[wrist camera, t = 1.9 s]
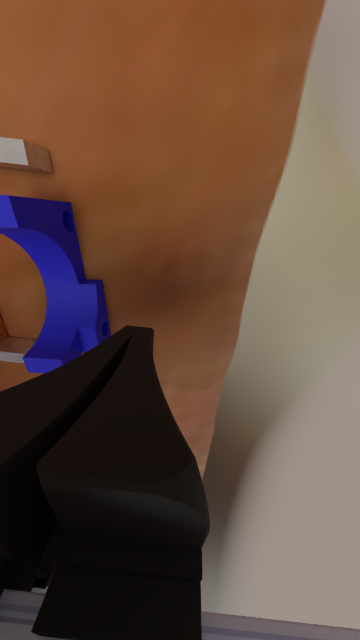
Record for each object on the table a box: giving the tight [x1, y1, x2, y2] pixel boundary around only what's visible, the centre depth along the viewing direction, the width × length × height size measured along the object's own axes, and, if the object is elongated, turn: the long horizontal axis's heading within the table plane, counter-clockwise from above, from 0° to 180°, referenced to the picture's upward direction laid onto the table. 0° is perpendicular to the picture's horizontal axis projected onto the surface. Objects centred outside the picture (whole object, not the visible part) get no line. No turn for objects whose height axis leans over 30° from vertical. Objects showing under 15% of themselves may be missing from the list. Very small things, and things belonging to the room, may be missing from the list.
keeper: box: [0, 137, 83, 363], centre depth 16 cm, size 9×18×3 cm, turn 174°
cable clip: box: [0, 195, 111, 373], centre depth 15 cm, size 12×4×6 cm, turn 178°
